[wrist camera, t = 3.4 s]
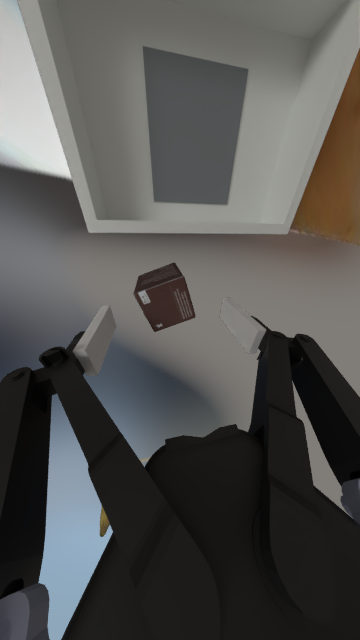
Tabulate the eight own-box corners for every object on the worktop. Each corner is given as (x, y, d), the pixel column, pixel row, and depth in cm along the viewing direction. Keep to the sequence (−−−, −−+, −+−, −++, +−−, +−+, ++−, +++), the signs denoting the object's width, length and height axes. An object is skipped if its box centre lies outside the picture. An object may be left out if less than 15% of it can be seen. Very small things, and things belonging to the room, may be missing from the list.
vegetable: (108, 466, 70) (96, 538, 54) (121, 464, 72) (113, 533, 56) (107, 470, 73) (95, 539, 57) (119, 468, 75) (111, 534, 59)
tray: (103, 231, 17) (88, 232, 13) (30, -54, 8) (-80, -313, 4) (260, 232, 20) (287, 234, 16) (318, 31, 12) (405, -71, 8)
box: (185, 296, 24) (196, 318, 18) (153, 307, 24) (154, 333, 18) (174, 261, 20) (184, 275, 15) (137, 274, 21) (132, 293, 15)
